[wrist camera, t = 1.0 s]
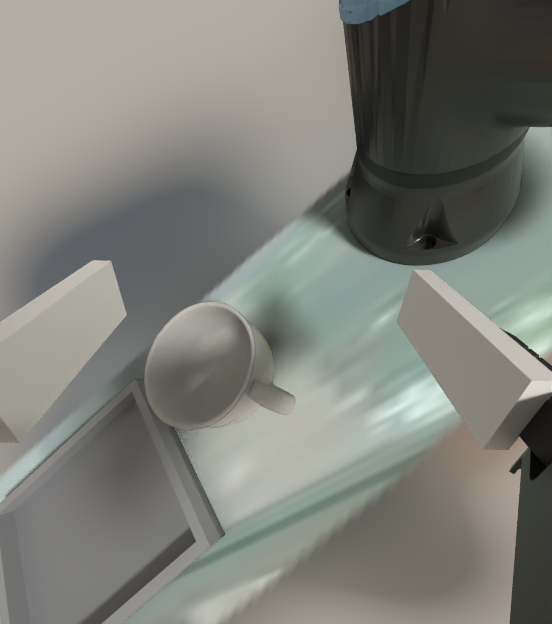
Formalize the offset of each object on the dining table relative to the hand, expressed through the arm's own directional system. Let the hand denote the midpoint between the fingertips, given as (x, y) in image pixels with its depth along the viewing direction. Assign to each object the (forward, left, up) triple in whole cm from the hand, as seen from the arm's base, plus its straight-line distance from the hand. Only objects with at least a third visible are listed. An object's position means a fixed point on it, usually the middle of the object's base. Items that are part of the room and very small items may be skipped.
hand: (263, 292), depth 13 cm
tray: (+30, -3, -17) cm, 34 cm away
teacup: (+8, -4, -17) cm, 19 cm away
